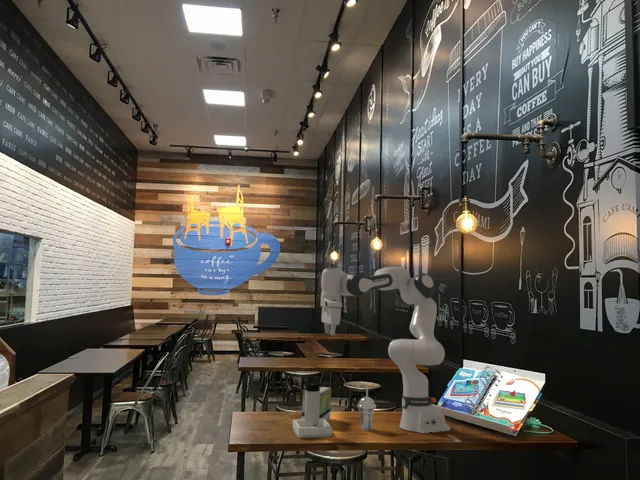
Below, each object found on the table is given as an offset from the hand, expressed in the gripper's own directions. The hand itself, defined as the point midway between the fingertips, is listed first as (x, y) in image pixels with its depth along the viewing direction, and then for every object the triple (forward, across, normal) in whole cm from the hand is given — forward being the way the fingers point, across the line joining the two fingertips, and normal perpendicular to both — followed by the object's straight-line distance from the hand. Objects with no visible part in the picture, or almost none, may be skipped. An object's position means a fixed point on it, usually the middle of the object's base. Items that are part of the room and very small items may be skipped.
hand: (329, 334), depth 225 cm
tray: (+41, +4, -8) cm, 42 cm away
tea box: (+41, -15, -2) cm, 44 cm away
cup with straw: (+41, +1, +17) cm, 45 cm away
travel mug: (+40, +4, -8) cm, 41 cm away
